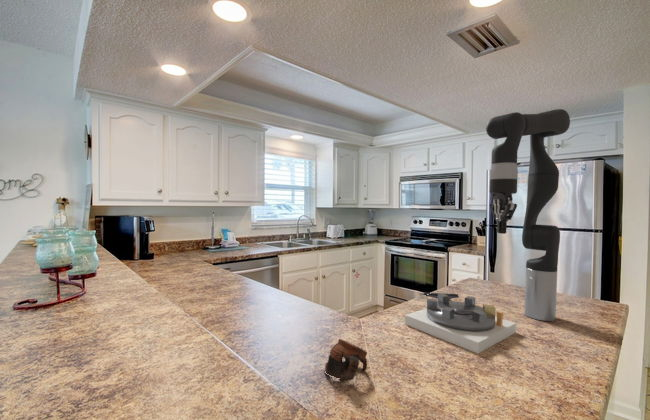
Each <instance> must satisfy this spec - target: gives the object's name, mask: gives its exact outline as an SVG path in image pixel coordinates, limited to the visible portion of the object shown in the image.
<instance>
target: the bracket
mask: <svg viewBox="0 0 650 420" xmlns="http://www.w3.org/2000/svg"><path fill="white" fill-rule="evenodd" d="M430 293H431V294H430ZM422 294H423V296H424V295H426V296H425V297H430V298H433V299H438V294H445V295H448V296H449V301H453V300H452V299H454V298H455V299H456V298H459V294H458V293H442V292H441V293H439V292H423V293H422ZM427 294H429V295H427Z"/></svg>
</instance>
